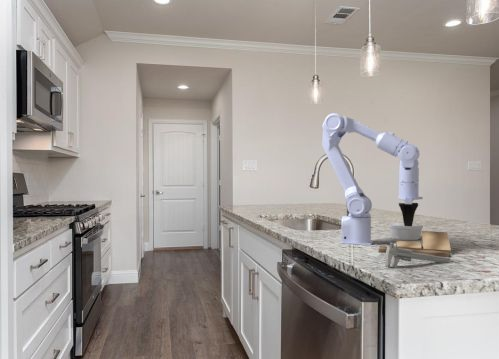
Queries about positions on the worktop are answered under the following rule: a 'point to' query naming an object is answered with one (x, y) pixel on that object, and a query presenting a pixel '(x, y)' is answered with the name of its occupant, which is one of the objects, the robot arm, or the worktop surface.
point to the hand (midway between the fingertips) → (408, 225)
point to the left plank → (408, 244)
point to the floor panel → (420, 251)
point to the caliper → (408, 256)
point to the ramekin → (405, 231)
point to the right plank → (436, 241)
